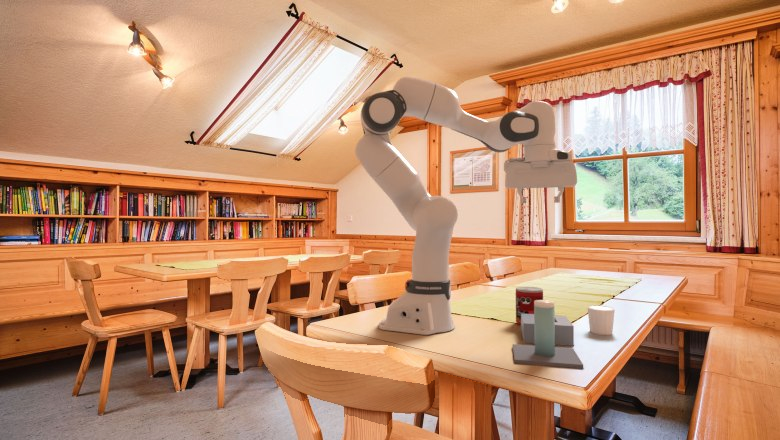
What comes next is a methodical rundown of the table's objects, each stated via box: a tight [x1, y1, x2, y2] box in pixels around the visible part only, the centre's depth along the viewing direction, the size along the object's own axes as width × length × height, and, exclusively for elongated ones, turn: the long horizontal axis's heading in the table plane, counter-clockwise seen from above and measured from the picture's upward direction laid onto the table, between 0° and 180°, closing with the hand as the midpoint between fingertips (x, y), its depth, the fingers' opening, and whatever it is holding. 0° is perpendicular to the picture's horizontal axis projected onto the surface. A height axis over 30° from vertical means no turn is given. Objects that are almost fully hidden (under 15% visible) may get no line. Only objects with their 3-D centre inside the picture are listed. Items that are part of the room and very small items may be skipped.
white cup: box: [587, 305, 616, 336], centre depth 117 cm, size 7×7×7 cm
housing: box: [520, 314, 575, 347], centre depth 111 cm, size 12×12×5 cm
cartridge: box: [534, 299, 556, 357], centre depth 95 cm, size 4×4×12 cm
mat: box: [512, 343, 584, 370], centre depth 95 cm, size 14×12×1 cm
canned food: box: [515, 286, 544, 326], centre depth 126 cm, size 8×8×11 cm
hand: (540, 202), depth 123 cm, fingers open, 8 cm apart
